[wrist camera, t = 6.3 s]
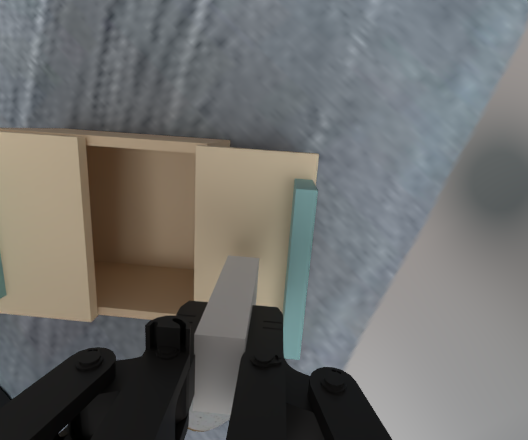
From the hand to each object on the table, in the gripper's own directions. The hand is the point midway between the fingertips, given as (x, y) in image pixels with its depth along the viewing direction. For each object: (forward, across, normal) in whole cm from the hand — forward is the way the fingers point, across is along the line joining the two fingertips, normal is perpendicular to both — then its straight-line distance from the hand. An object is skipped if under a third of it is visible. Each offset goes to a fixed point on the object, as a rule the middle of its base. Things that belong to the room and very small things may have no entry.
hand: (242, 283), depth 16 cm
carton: (+13, -10, 0) cm, 16 cm away
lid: (+5, 0, 0) cm, 5 cm away
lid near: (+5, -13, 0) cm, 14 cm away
